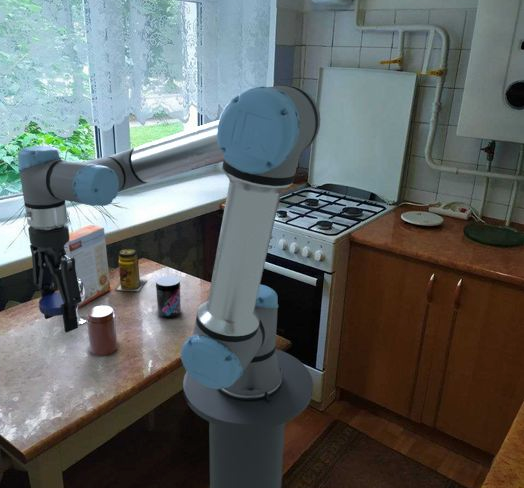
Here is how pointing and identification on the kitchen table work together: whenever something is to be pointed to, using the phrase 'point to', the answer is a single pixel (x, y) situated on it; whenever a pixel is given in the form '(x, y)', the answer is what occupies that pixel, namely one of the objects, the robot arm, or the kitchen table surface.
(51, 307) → the lid
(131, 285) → the condiment
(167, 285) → the supplement container
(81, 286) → the wineglass
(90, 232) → the cracker box
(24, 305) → the kitchen table surface
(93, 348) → the jar
